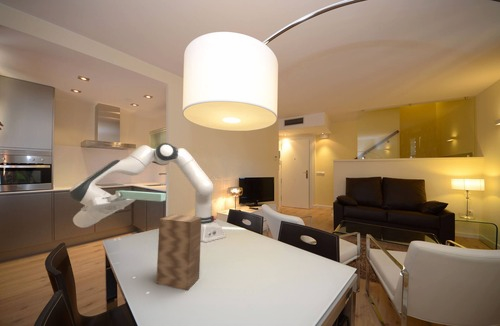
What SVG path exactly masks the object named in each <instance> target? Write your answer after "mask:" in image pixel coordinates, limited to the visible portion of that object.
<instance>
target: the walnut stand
mask: <svg viewBox="0 0 500 326" xmlns="http://www.w3.org/2000/svg"><path fill="white" fill-rule="evenodd" d="M158 221H159V222H158V223H159V225H158V242H157V243H158V245H157V261H156V262H157V263H156V265H157V267H156V280H155V281H156V282H155V283H156V284H157V285H160V286H167V287H171V288H175V289H180V290H184V291H189V290H190V289H191V288H192V287H193V285H195V284H196V283H197V282H198V281H199V279H200V270H201V268H200V267H201V262H200V261H201V243H202V241H201V217H194V216H191V215H180V214H170V215H168V216H164V217H162V218H159V219H158Z"/></svg>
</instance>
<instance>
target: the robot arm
mask: <svg viewBox="0 0 500 326" xmlns="http://www.w3.org/2000/svg"><path fill="white" fill-rule="evenodd" d="M171 162H172V163H174V164H176V166H177V167H178V168H179V170H180V171H181V172H182V174H183V175H184V177H185V178H186V179H187V181H188V182H189V183H190V184H191V186H192V188H193V189H194V190H195V192H194V193H195V195H194V196H195V197H194V198H195V199H194V200H195V201H194V216H193V217H201V242H204V243H208V242H213V241H216V240H219V239H225V238H226V237H227V236H226V233H225V232H223V228H222V226H221V224H219V223H217V221H216V220H217V218H218V217H216V216H214V215H213V214H212V213H213V201H212V195H213V192H214V189H215V185H214V183H213V182H212V180H211V179H210V177H208V176H207V174H206V172H204V170H203V169H202V168H201V166H200V165H199V164H198V162H197V161H196V160H195V158H194V157H193V156H192V155H191V153H190V152H189V151H188V150H186V149H185V148H183V147H180V148H177V147H176V146H173V145H172V144H171V143H167V142H163V143H161V144H159V145H157V147H156V148H153V147H151V146H149V145H145V144H142V145H140V146H139V147H137V148H136V149H134V150H133V151H132V152H131V153H130V154H128V156H127V157H125V158H124V159H115V160H112V161H111V162H109V163H107V164H106V165H104V166H103V167H101V168H100V169H98V170H97V171H95V172H94V173H93V174H91V175H90V176H88V177H87V178H85V179H84V180H82V181H80V182H78V183H76V184H74V185H73V186H72V187H71V188H70V189H69V192H68V194H69V198H70V200H71V201H74V202H76V203H80V204H82V205H84V206H83V207H82V208H80V211H78V212H77V213H76V214H75V215H74V216H73V218H72V222H73V224H74V225H75V226H76V227H78V228H81V229H84V228H89V227H91V226H93V225H95V224H96V223H98V222H100V221H101V220H103V219H105V218H107V217H108V216H111V215H113V214H115V213H117V212H120V211H122V210H125V207H128V206H129V205H130V204H132V203H134V202H135V201H136V199H124V198H120V197H121V196H122V193H117V194H111V193H109V192H108V191H106V190H104V189H102V188H101V187H99V186H97V185H96V184H97V183H98V182H100V181H102V179H105V177H107V176H108V175H109V174H111V173H112V174H113V173H117V174H118V173H119V174H122V175H126V176H132V177H133V176H139V175H141V174H142V172H144V171H145V169H146V168H147V167H148V166H150V164H151V163H154V164H156V165H159V166H166V165H169V164H170V163H171Z"/></svg>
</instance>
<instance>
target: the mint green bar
mask: <svg viewBox="0 0 500 326" xmlns="http://www.w3.org/2000/svg"><path fill="white" fill-rule="evenodd" d="M117 193H122V196H121V197H120V198H124V199H136V200H137V201H138V200H139V201H150V202H151V201H152V202H164V201H166V199H167V193H166V192H152V191H151V192H149V191H136V190H115V194H117ZM115 194H114V195H115ZM136 200H135V201H136Z"/></svg>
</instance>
